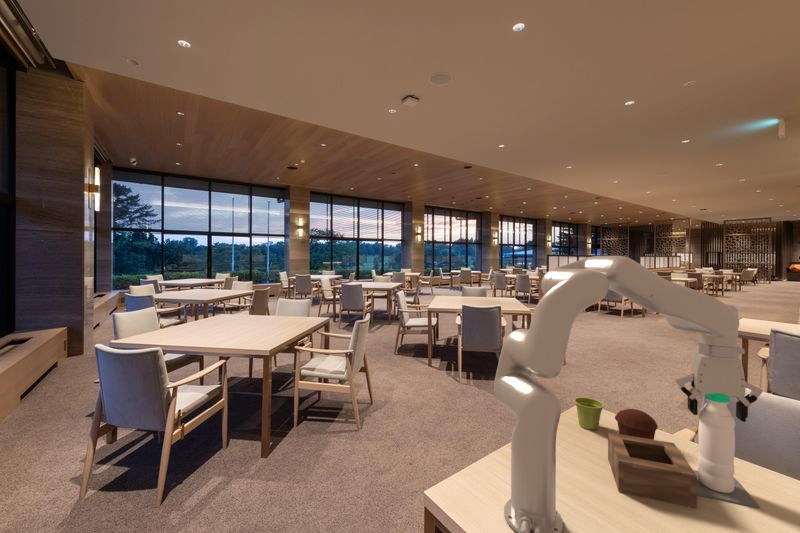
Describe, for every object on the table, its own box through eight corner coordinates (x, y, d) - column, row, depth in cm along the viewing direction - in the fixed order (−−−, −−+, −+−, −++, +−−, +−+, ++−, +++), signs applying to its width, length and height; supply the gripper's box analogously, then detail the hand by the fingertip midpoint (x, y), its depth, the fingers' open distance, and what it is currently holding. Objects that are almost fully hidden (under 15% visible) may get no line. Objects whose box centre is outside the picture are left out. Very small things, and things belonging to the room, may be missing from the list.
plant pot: (580, 417, 130) (580, 395, 130) (607, 426, 123) (608, 402, 123) (569, 425, 124) (569, 401, 124) (597, 435, 117) (597, 410, 117)
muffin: (653, 437, 115) (653, 408, 115) (662, 454, 105) (662, 421, 105) (612, 430, 120) (612, 402, 120) (616, 445, 110) (617, 414, 110)
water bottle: (718, 477, 93) (720, 386, 93) (742, 495, 86) (744, 396, 86) (690, 476, 94) (692, 385, 93) (711, 493, 87) (713, 395, 86)
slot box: (696, 508, 82) (697, 475, 82) (618, 491, 88) (618, 460, 88) (673, 471, 97) (673, 443, 97) (608, 458, 103) (608, 432, 103)
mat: (760, 508, 82) (760, 506, 82) (697, 495, 87) (697, 493, 87) (734, 479, 93) (734, 477, 93) (679, 468, 98) (679, 467, 98)
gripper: (753, 351, 90) (752, 416, 90) (671, 344, 96) (671, 405, 97) (770, 358, 83) (769, 429, 83) (681, 350, 89) (680, 416, 90)
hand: (716, 416), depth 90 cm, fingers open, 9 cm apart
